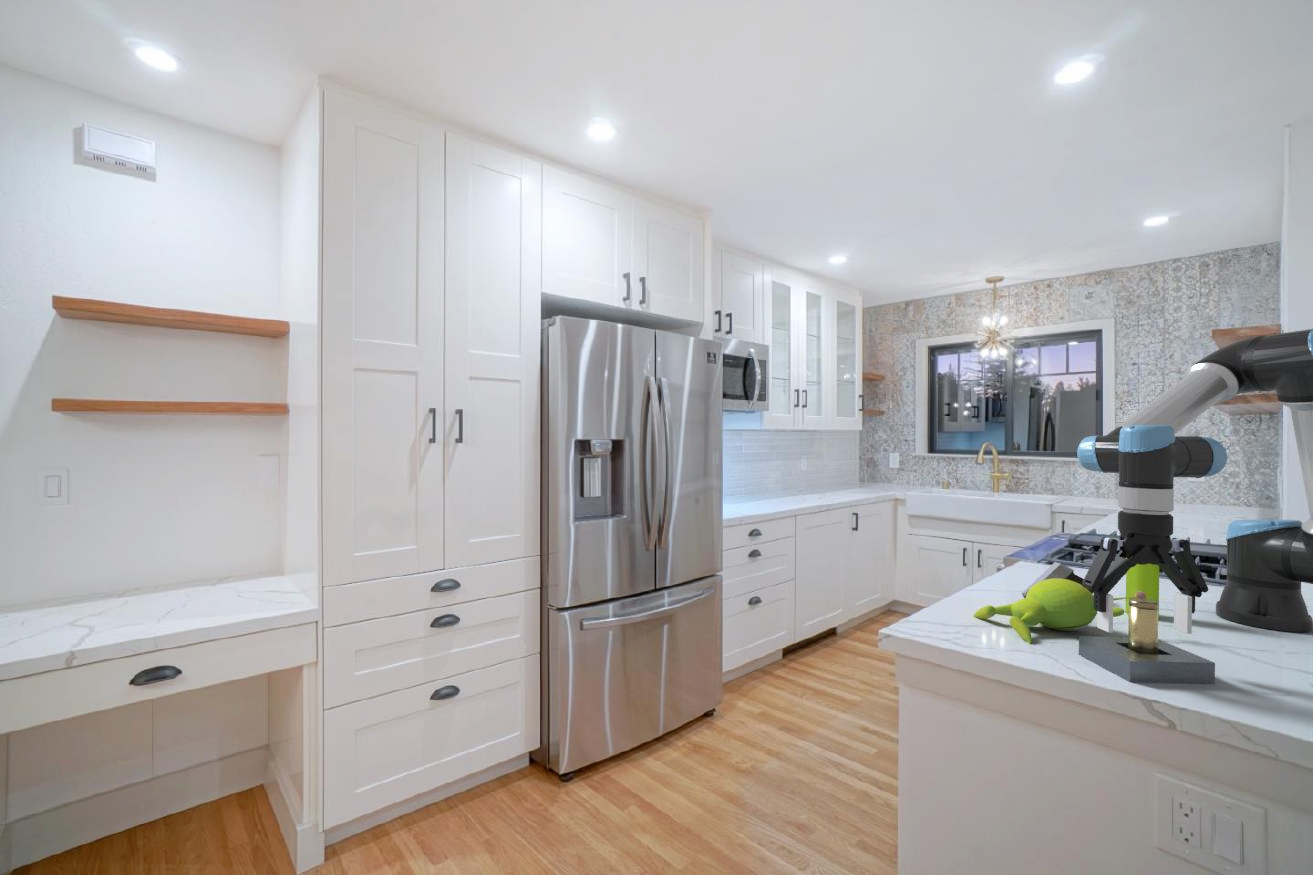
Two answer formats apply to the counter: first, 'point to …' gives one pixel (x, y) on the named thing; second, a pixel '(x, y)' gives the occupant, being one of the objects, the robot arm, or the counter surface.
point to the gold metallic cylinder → (1143, 626)
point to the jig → (1147, 661)
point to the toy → (1051, 607)
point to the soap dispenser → (1143, 582)
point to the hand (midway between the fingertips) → (1143, 630)
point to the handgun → (1057, 575)
